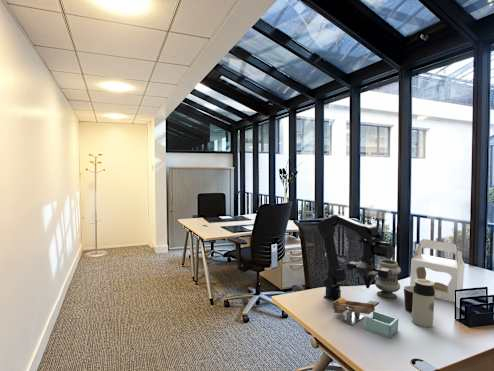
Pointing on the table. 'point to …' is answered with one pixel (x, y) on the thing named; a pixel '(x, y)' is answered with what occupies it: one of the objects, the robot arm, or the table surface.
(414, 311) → the travel mug
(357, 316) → the fulcrum
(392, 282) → the apothecary jar
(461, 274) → the gable box
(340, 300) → the ball
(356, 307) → the lever
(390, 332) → the bin
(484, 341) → the table surface
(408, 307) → the coffee mug
